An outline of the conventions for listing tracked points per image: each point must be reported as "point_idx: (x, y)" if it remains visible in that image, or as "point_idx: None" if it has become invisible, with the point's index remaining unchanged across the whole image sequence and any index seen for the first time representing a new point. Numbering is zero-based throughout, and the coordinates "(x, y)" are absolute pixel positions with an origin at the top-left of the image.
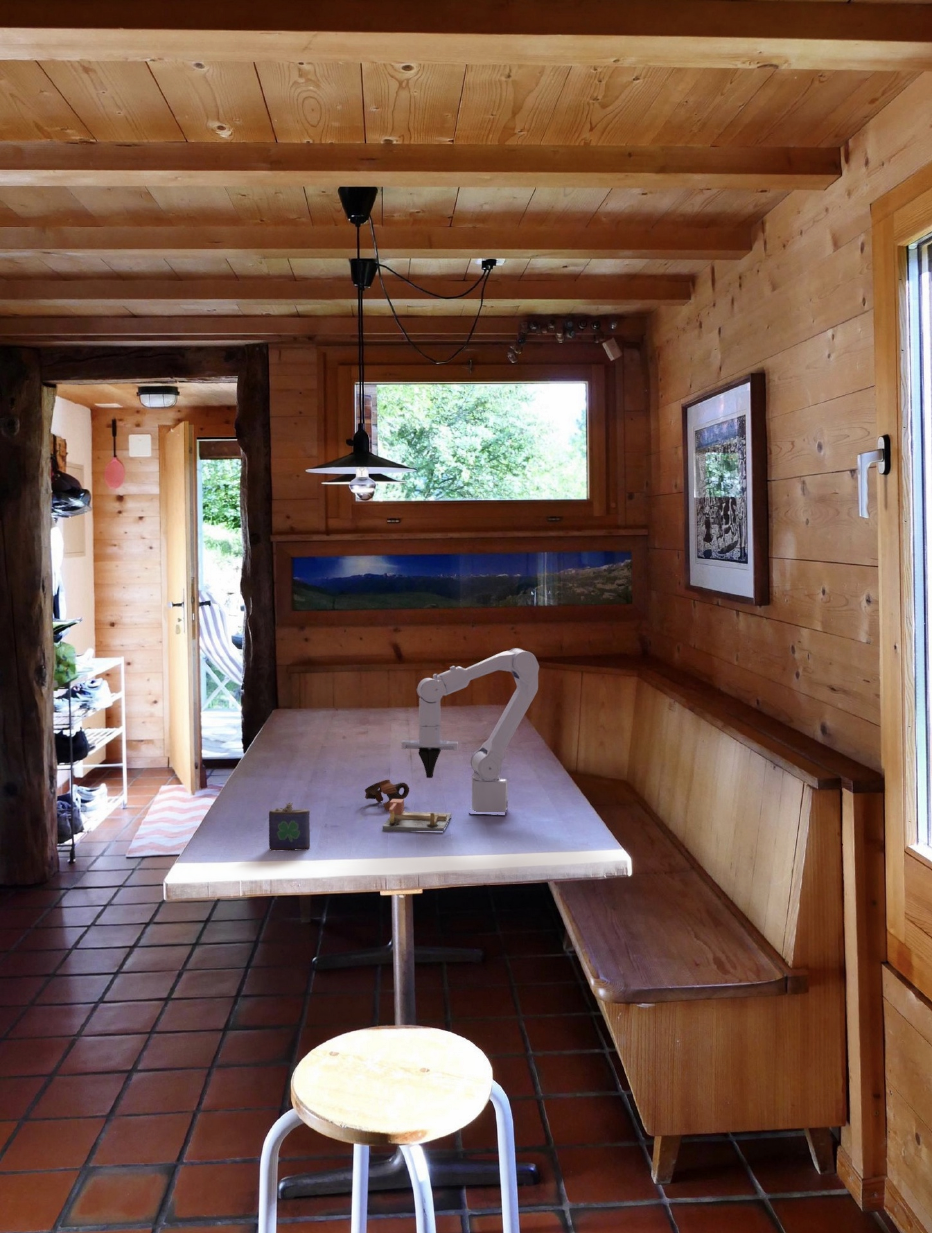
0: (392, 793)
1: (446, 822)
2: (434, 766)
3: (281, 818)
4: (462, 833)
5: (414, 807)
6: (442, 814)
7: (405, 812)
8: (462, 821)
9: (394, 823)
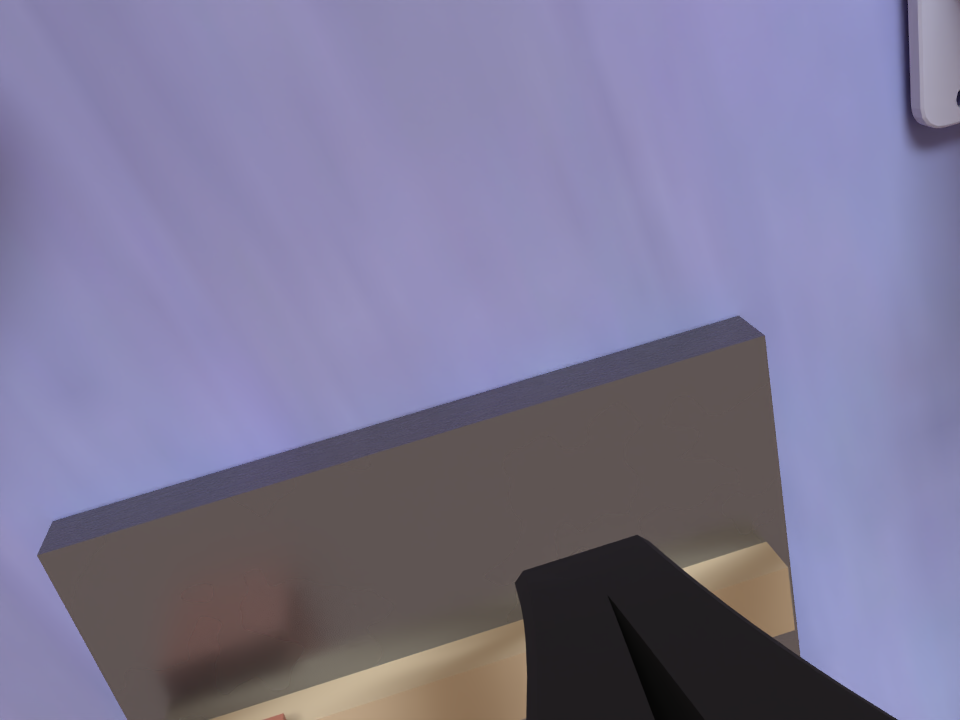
0: None
1: (799, 655)
2: (808, 690)
3: None
4: (942, 697)
5: (50, 31)
6: (743, 588)
7: (216, 546)
8: (880, 390)
9: None
